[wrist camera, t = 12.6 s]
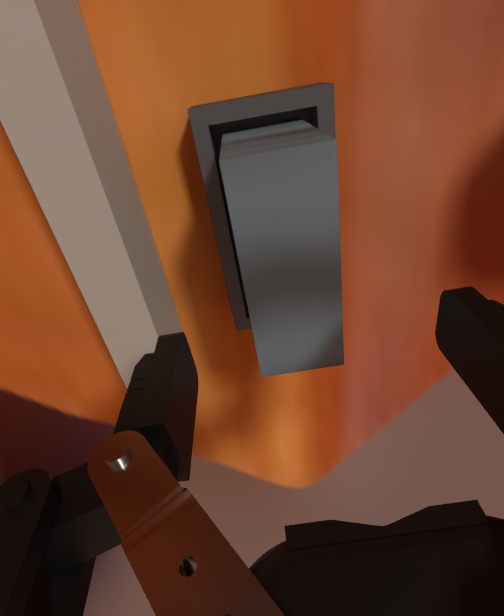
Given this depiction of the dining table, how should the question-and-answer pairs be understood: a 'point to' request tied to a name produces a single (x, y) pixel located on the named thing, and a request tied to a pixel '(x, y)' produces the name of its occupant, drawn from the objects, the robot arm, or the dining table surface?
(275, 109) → the cradle
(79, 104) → the door board
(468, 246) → the dining table surface
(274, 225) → the block
